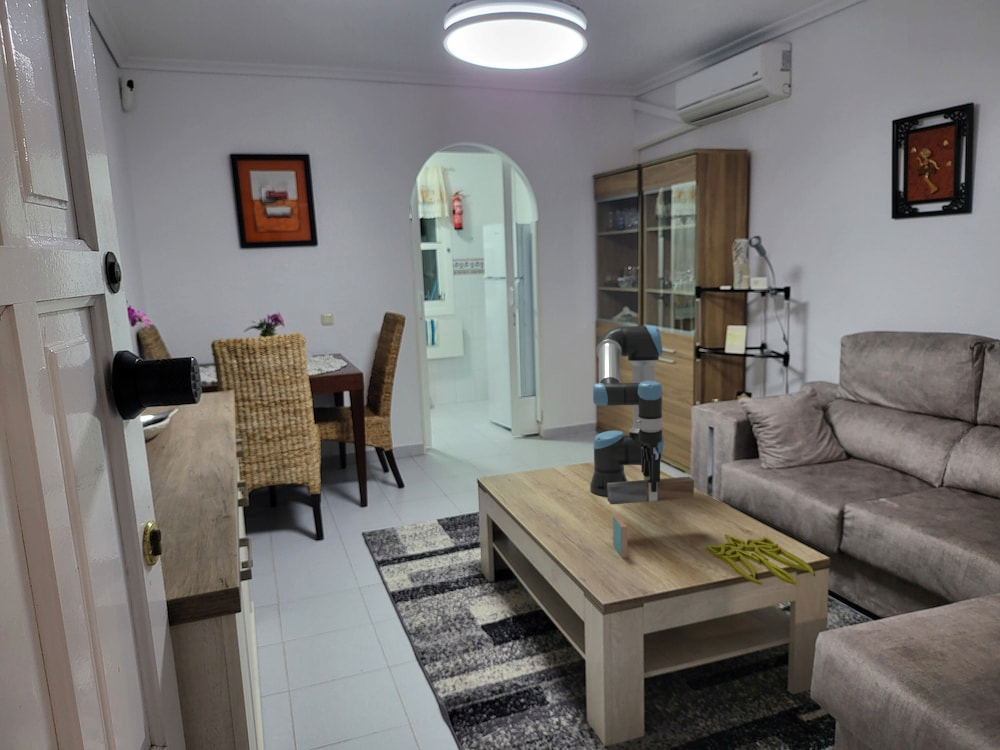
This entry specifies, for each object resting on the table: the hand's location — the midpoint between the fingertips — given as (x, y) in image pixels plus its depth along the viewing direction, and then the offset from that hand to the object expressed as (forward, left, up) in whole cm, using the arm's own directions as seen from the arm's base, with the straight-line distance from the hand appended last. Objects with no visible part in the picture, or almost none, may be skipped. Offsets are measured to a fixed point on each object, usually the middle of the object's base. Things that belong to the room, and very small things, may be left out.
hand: (650, 497), depth 223 cm
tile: (+12, -14, -12) cm, 22 cm away
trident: (+26, +24, -13) cm, 38 cm away
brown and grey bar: (0, 0, 0) cm, 0 cm away
